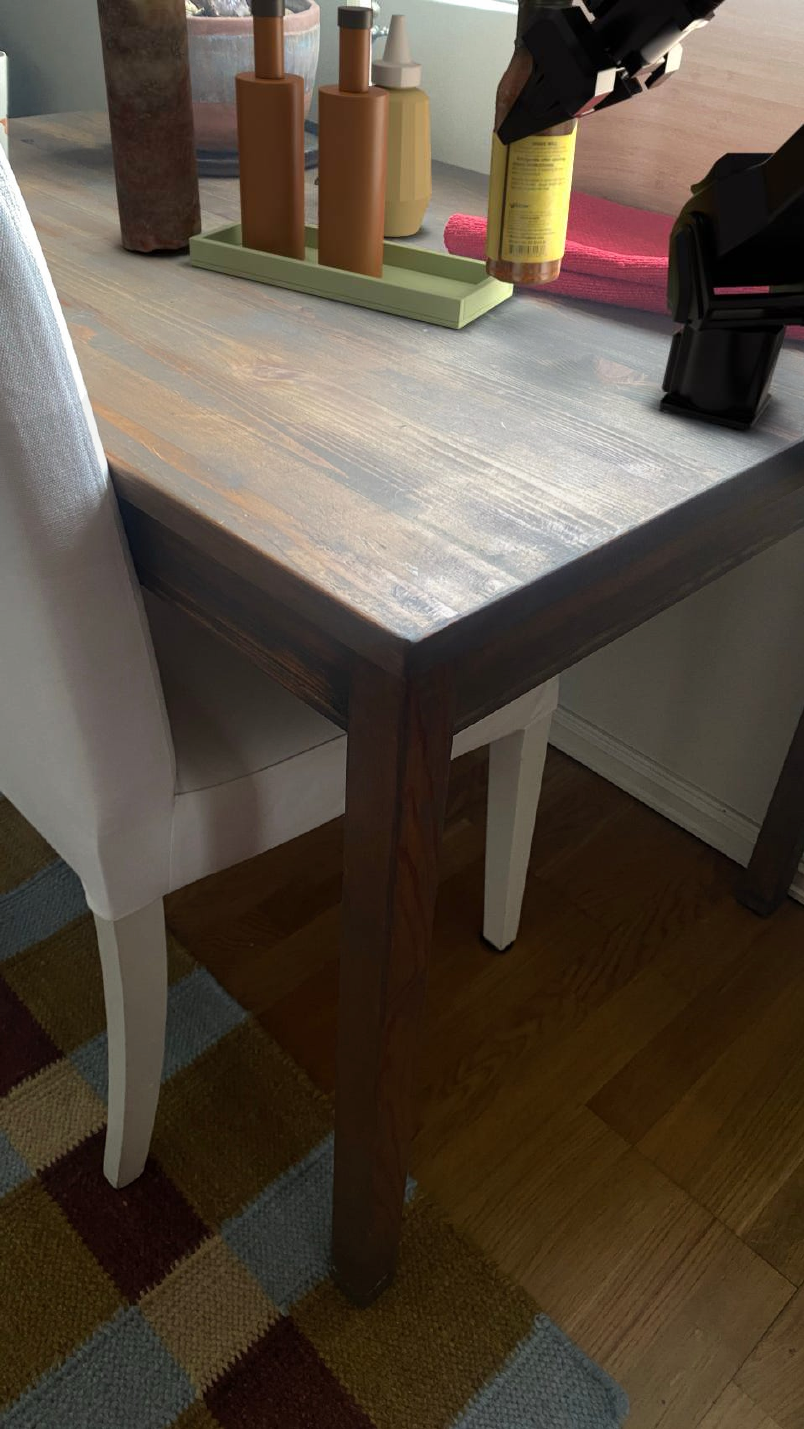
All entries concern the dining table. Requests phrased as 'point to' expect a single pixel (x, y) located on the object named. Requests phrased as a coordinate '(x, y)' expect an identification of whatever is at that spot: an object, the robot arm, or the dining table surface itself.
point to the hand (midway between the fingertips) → (519, 133)
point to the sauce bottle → (527, 182)
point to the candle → (151, 121)
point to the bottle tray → (390, 294)
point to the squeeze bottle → (404, 134)
